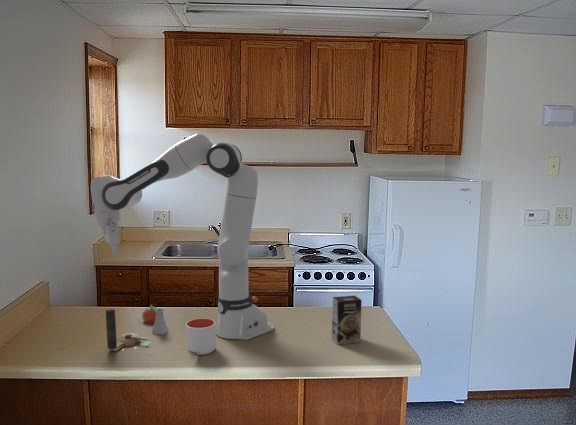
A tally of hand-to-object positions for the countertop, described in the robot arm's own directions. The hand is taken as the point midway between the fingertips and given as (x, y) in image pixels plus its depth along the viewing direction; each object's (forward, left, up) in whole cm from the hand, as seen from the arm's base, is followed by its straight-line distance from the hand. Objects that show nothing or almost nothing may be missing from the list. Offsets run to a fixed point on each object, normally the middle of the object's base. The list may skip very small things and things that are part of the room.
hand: (115, 254), depth 200 cm
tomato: (-13, +1, -30) cm, 33 cm away
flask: (-11, +14, -30) cm, 35 cm away
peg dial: (+4, +20, -28) cm, 35 cm away
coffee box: (-64, +59, -30) cm, 92 cm away
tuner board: (+4, +16, -30) cm, 34 cm away
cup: (-17, +36, -30) cm, 50 cm away
